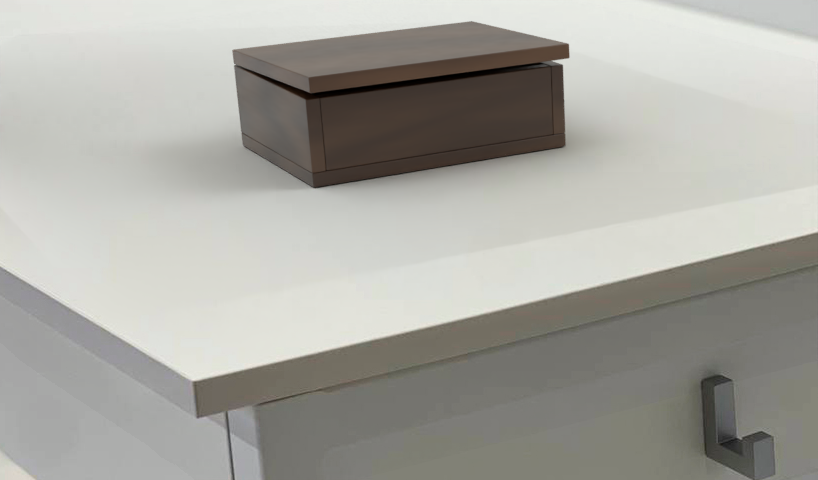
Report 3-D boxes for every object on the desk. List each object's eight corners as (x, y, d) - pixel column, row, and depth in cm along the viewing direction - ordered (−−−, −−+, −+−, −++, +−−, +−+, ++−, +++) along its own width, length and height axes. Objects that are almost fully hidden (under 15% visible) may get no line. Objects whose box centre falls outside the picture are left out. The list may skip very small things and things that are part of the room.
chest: (566, 146, 94) (563, 64, 93) (313, 187, 87) (305, 99, 85) (477, 110, 104) (473, 35, 102) (242, 145, 96) (233, 64, 95)
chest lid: (570, 58, 92) (569, 43, 92) (310, 93, 84) (308, 77, 84) (473, 34, 102) (472, 20, 102) (233, 64, 95) (231, 49, 94)
